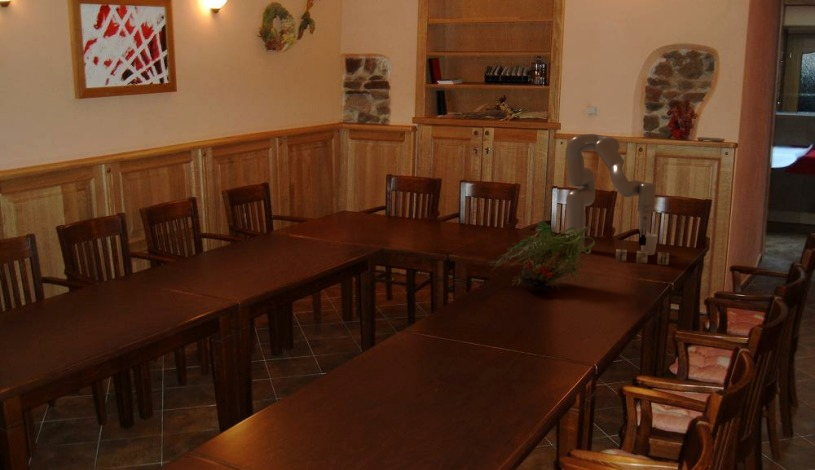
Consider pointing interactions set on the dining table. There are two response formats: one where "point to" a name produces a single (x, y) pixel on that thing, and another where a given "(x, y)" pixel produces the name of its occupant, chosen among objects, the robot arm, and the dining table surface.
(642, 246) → the white cup
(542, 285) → the plant
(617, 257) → the marked block left
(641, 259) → the plain maple block
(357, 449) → the dining table surface
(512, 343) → the dining table surface
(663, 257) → the marked block right
